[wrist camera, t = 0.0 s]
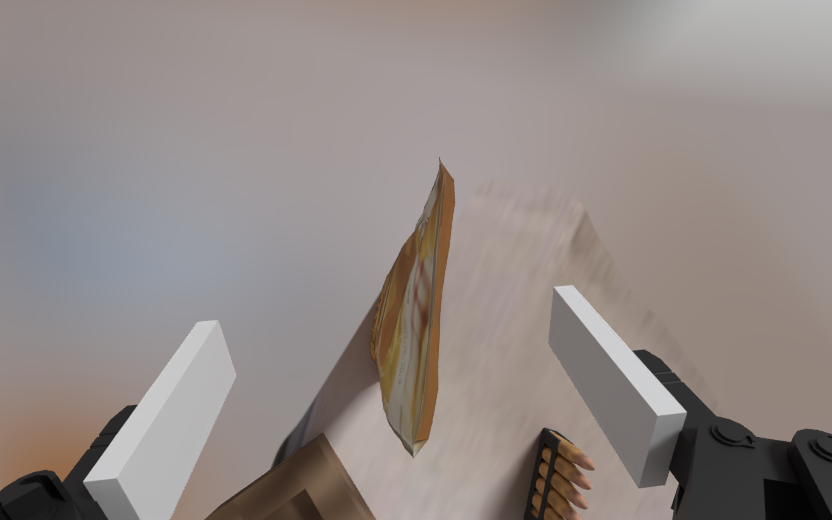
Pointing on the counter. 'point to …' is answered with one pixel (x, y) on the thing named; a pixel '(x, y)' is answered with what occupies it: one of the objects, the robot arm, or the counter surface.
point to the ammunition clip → (557, 479)
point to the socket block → (299, 490)
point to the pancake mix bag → (414, 320)
